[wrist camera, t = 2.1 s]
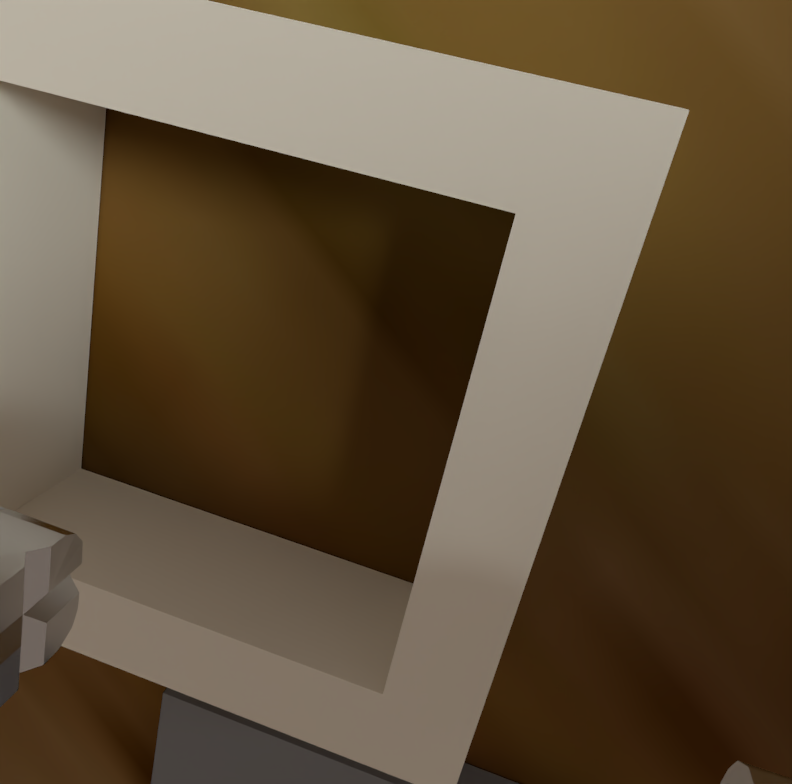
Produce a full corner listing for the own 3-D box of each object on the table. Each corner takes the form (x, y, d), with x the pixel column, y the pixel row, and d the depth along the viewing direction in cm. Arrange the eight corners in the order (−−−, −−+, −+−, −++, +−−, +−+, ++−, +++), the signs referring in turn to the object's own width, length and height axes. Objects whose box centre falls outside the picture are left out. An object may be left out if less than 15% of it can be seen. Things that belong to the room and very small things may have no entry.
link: (665, 117, 14) (690, 109, 11) (478, 674, 19) (452, 798, 16) (34, -28, 16) (-127, -76, 13) (16, 507, 22) (-102, 581, 18)
